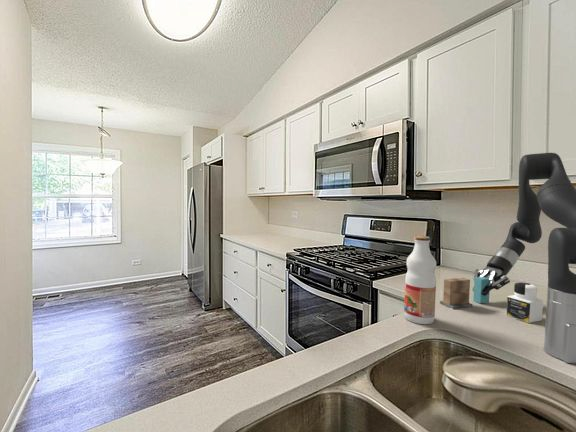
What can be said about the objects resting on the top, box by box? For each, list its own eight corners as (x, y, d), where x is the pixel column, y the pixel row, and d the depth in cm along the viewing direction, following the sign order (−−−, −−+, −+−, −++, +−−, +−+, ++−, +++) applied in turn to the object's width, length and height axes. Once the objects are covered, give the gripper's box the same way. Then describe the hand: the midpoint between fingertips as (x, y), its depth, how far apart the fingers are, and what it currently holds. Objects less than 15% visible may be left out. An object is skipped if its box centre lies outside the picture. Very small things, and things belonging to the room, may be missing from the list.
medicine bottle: (505, 315, 102) (507, 282, 101) (519, 313, 104) (521, 280, 104) (528, 323, 95) (530, 287, 95) (542, 320, 98) (544, 285, 97)
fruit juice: (435, 327, 91) (439, 239, 90) (403, 321, 95) (406, 237, 93) (433, 316, 100) (437, 236, 98) (404, 312, 103) (407, 234, 102)
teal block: (481, 299, 117) (483, 276, 117) (488, 302, 114) (490, 278, 114) (473, 300, 116) (474, 277, 115) (480, 303, 113) (481, 279, 113)
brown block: (458, 301, 116) (460, 276, 115) (472, 306, 110) (473, 280, 109) (439, 303, 113) (441, 278, 112) (452, 309, 107) (453, 282, 107)
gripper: (482, 252, 123) (458, 282, 120) (516, 258, 110) (490, 292, 107) (490, 263, 125) (467, 293, 122) (525, 271, 112) (500, 305, 109)
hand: (478, 292), depth 114 cm, fingers closed on teal block, 3 cm apart
